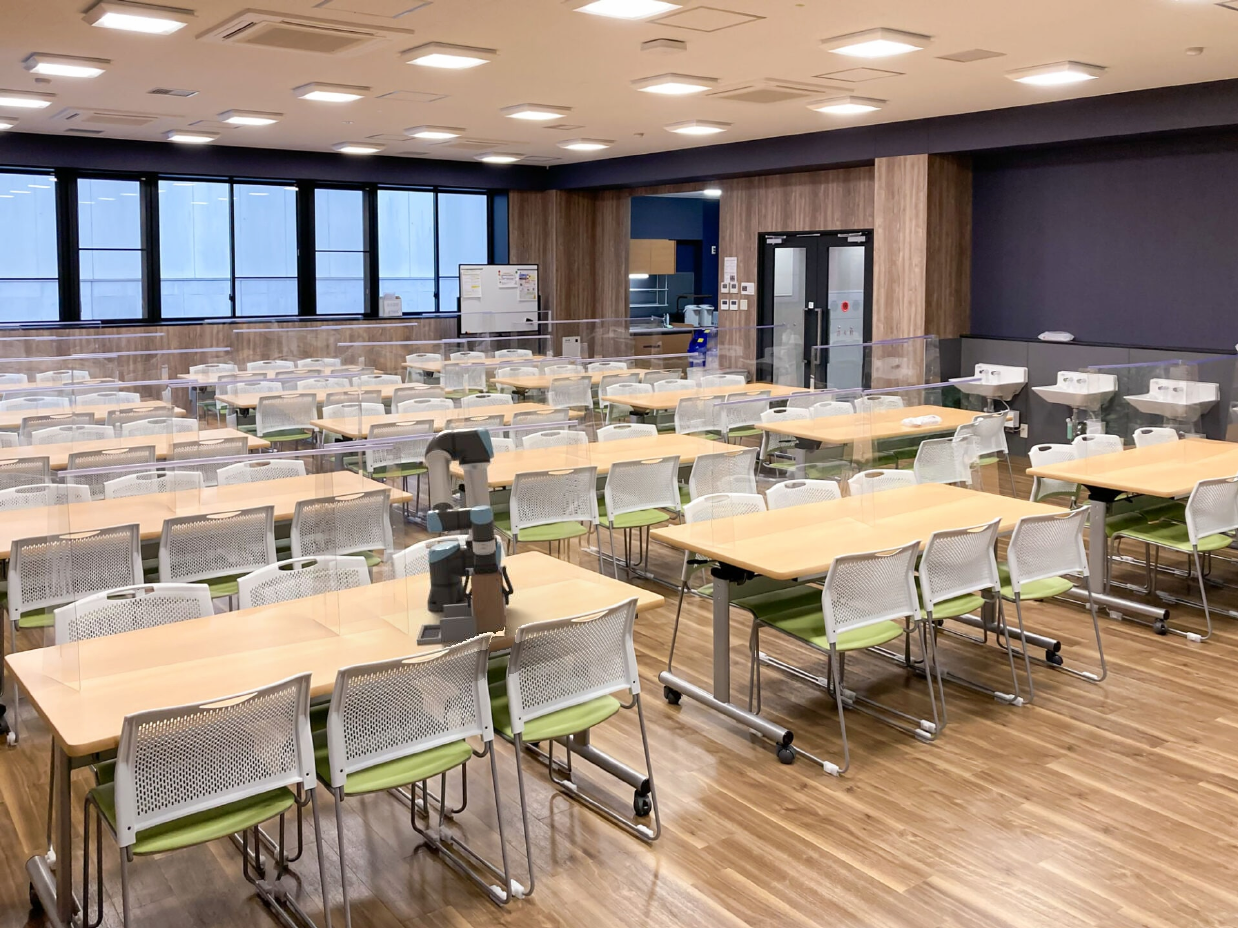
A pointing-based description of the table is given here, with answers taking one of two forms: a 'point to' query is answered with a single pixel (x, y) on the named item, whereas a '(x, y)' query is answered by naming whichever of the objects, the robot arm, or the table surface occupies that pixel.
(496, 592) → the wooden block
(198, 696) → the table surface
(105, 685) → the table surface
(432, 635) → the pit trap
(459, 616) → the channel
